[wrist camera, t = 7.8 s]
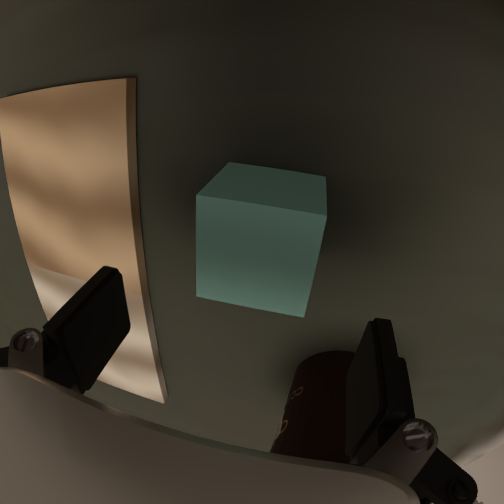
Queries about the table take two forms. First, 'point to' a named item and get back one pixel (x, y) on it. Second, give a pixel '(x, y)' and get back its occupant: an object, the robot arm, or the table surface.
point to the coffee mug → (316, 410)
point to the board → (83, 207)
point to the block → (259, 237)
